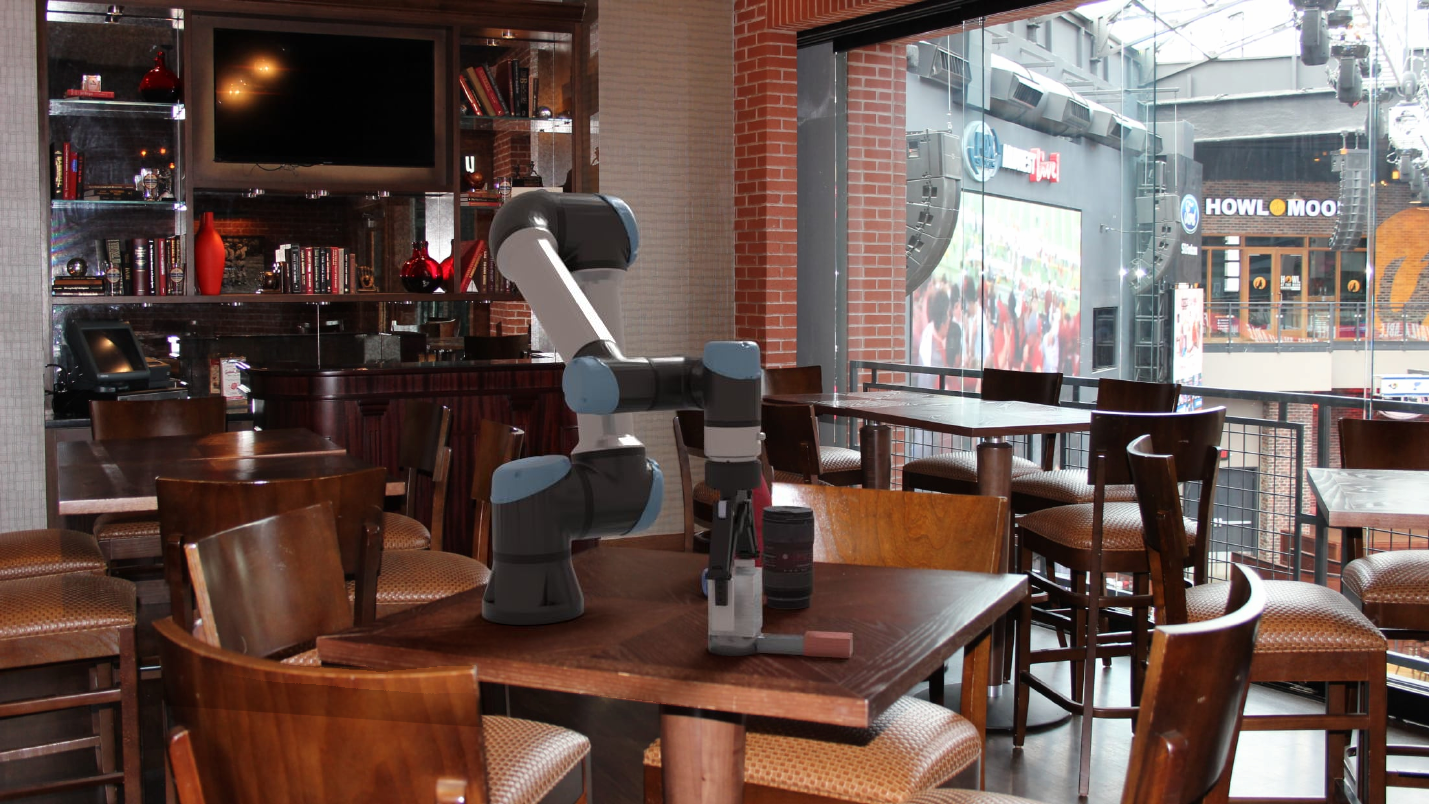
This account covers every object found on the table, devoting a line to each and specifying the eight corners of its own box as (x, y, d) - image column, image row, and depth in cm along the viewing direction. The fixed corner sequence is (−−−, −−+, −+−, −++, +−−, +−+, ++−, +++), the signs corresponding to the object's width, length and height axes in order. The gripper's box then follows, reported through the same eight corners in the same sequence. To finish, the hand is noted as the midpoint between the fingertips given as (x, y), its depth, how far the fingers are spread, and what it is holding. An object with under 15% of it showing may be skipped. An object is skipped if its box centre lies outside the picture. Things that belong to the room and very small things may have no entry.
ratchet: (702, 654, 160) (702, 609, 160) (715, 641, 167) (714, 597, 167) (847, 662, 156) (847, 615, 156) (854, 648, 163) (854, 603, 163)
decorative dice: (725, 591, 200) (725, 566, 200) (732, 596, 196) (732, 571, 196) (701, 592, 199) (701, 568, 199) (707, 597, 195) (707, 572, 195)
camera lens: (811, 611, 184) (811, 512, 183) (758, 609, 186) (757, 511, 185) (817, 600, 192) (817, 505, 191) (766, 598, 194) (766, 504, 193)
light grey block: (708, 635, 161) (707, 574, 160) (718, 624, 166) (718, 565, 166) (753, 637, 159) (753, 576, 159) (762, 626, 165) (761, 567, 165)
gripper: (741, 469, 149) (742, 642, 150) (777, 449, 173) (778, 598, 174) (681, 468, 150) (683, 639, 152) (725, 448, 175) (727, 596, 176)
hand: (734, 618), depth 163 cm, fingers open, 13 cm apart
